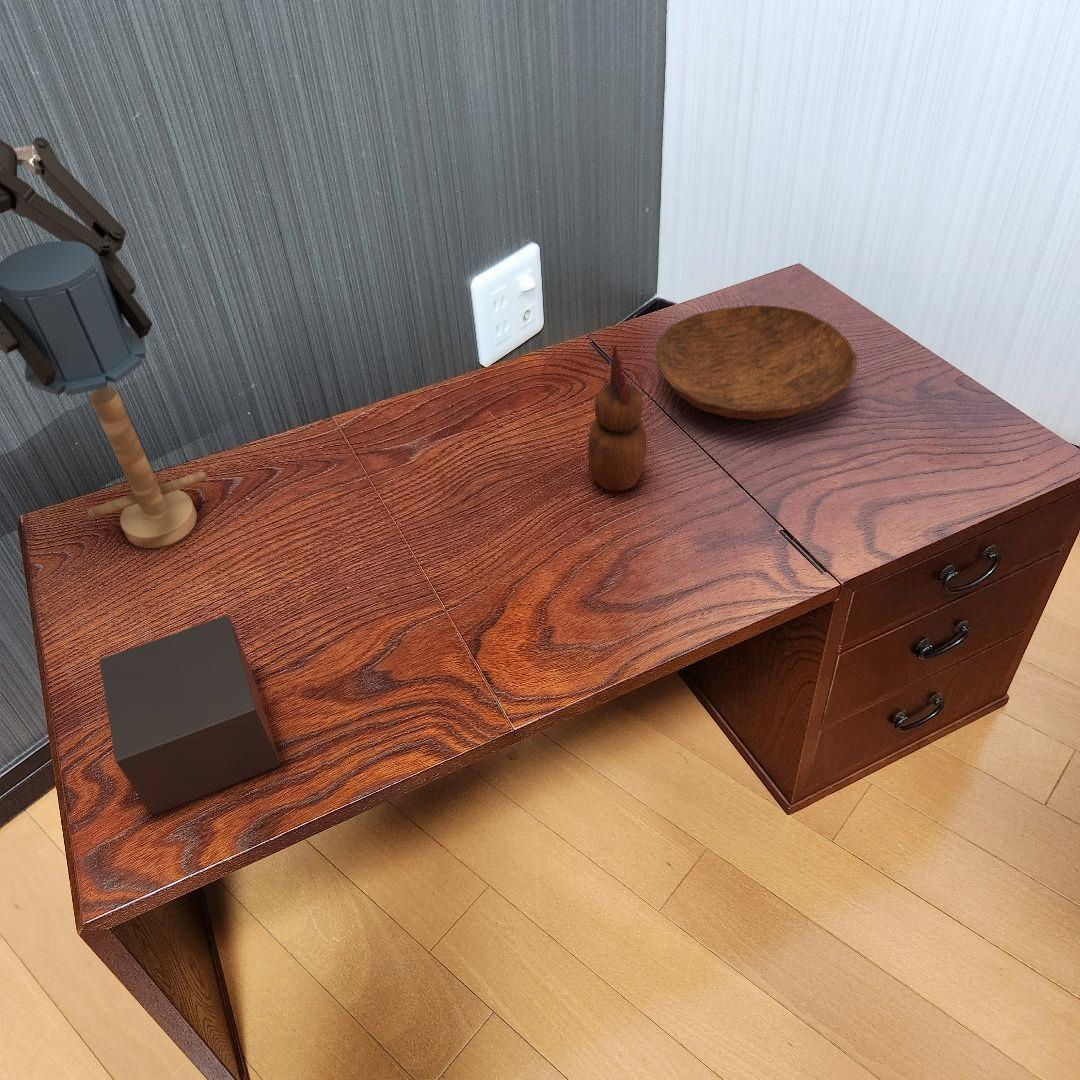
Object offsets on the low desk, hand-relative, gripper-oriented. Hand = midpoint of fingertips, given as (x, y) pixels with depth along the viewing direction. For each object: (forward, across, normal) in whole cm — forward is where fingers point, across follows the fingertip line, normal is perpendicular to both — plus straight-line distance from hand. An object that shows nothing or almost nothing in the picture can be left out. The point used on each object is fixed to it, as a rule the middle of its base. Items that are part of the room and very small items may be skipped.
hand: (99, 354), depth 76 cm
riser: (+31, +12, 0) cm, 33 cm away
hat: (-1, 0, -4) cm, 4 cm away
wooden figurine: (+35, -34, +4) cm, 49 cm away
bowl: (+37, -56, +6) cm, 67 cm away
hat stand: (+13, 0, -18) cm, 22 cm away
